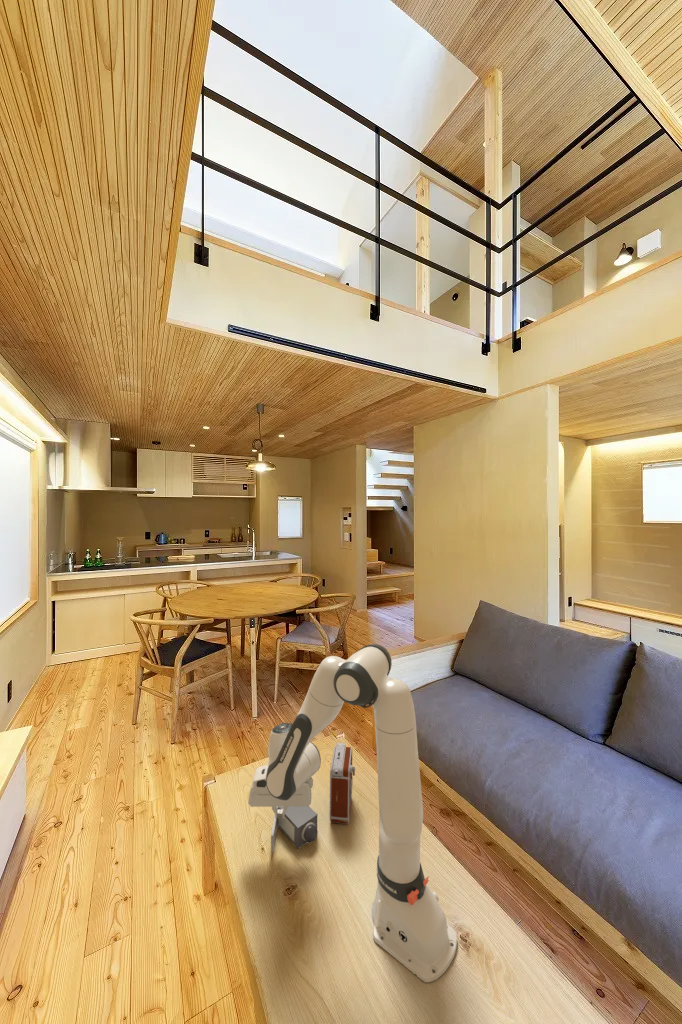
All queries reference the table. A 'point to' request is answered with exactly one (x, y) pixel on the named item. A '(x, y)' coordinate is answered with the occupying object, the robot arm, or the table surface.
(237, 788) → the table surface
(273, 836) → the side door
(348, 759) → the cine camera
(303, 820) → the camera body
